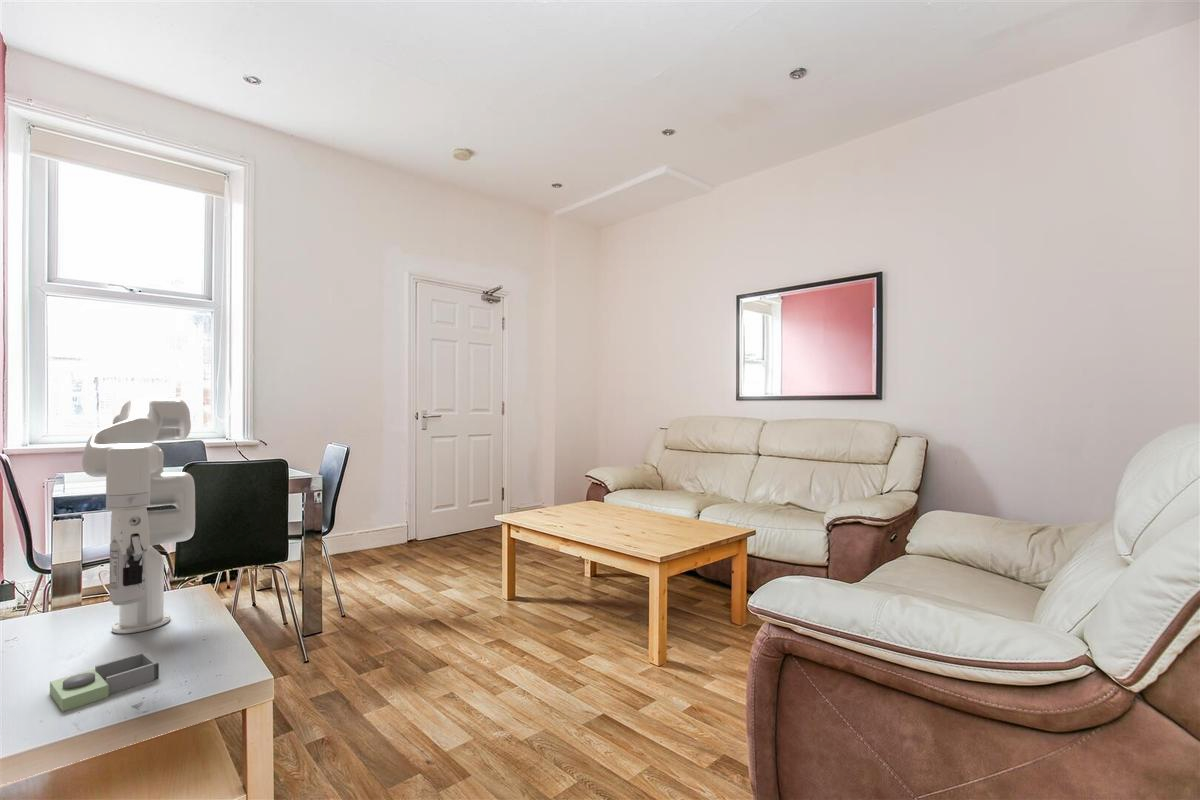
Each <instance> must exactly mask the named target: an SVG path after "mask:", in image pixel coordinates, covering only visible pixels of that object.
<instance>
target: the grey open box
mask: <svg viewBox="0 0 1200 800" xmlns="http://www.w3.org/2000/svg"><path fill="white" fill-rule="evenodd" d="M159 663H160V662H158V661H157V660H156V659H155V658H154V657H153V656H152V655H150V654H149V653H148V652H147V651H143V652H139V653H136V654H132V655H129V656H125V657H122V658H119V659H116V660H115V659H114V660H112V661H107V662H104V663H101V664H100V663H99V664H97V665H95V667H94V668H93V669H92V668H91V669H90V670H85V671H83V672H79V673H75V674H72V675H69V676H65V677H62V678H58V679H55V680H51V681H49V694H50V696H51V697H52V699H53V700H54V701H55V703H56V705H57V706H58V707H59V709H60V710H61V712H62V713H63V712H66V711H70V710H73V709H76V708H79V707H81V706H84V705H88V704H91V703H94V702H98V701H100V700H103V699H107V698H109V695H111V694H115V693H118V692H121V691H124V690H127V689H130V688H132V687H136V686H137V687H138V686H139V685H143V684H145V683H149V682H151V681H155V680H157V679H159V677H160V674H159V673H160V672H159V671H160V669H159V668H160V667H159V666H160V664H159Z"/></svg>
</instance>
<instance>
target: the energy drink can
mask: <svg viewBox="0 0 1200 800" xmlns="http://www.w3.org/2000/svg"><path fill="white" fill-rule="evenodd" d="M140 545H141V544H140ZM141 548H142V546H141ZM127 551H128V552H127V553H130V552H133V550H132V549H131V550H127ZM132 556H133V555H132ZM141 556H142V582H141V583H139V584H134V585H130V586H123V568H125V563H124V555H122V554H120V553H119V549H118V544H117V542H116V540H115V537H114V539H113V540H112V542H111V541H110V543H109V602H112V605H114V606H119V605H127V604H132V603H135V602H138V601H140V600H142V597H143V596H144V595H145V551H143V549H142V555H141ZM130 557H131V556H129V558H130Z"/></svg>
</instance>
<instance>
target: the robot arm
mask: <svg viewBox="0 0 1200 800" xmlns="http://www.w3.org/2000/svg"><path fill="white" fill-rule="evenodd" d="M190 413H191V412H190V409H189V407H188V405H187V403H186V402H185V401H184V400H182V399H180V398H175V397H174V398H172V397H171V398H169V397H168V398H167V397H166V398H165V397H159V398H158V397H143V398H142V397H140V398H139V397H138V398H133V399H131V400H128V401H127V402H125V403H124V405H122V407H121V409H120V412H119V414H117V415H115V416H114V418H113V420H112V424H111V425H109V426H106V427H104V428H102V429H100V430H98V431H96V432H95V433H93V434H91V436H90V437H89V438H88V440H87V442H86V443H85V444H86V445H85V448H84V450H83V454H82V459H81V465H82V469H83V471H84V473H85V474H86V475H88V477H89V476H90V477H93V478H105V479H106V480H105V483H106V485H105V511H111V515H110V518H111V519H110V543H111V542H112V540H113V539H114V537H115V540H116V542H117V544H118V549H119V553H120V554H122V555H124V563H125V568H123V586H130V585H134V584H139V583H141V582H142V556H141V555H142V549H143V551H145V595H144V596H143V597H142V600H140V601H138V602H135V603H132V604H127V605H118V607H119V611H118V612H119V617H118V618H119V620H118V621H117V622H115V623H114V624H112V626H111V631H112V633H115V634H133V633H140V632H144V631H149V630H152V629H156V628H158V627H161V626H163V625H165V624H167V623H168V622H170V620H171V614H169V613H167V612H164V611H165V610H164V608H165V607H164V602H165V601H164V599H165V598H164V596H165V595H164V591H165V585H164V584H165V581H164V580H165V579H164V578H165V561H164V557H163V555H162V554H161V553H160V552H159V551H158V550H157V549H156V548H155V547H153V546H157V545H164V544H171V543H181V542H186V541H188V540H190V539H192V537H193V536H194V534H195V530H196V489H195V488H196V485H195V480H194V477H193V475H191V474H190V473H188V472H186V471H169V472H168V471H167V472H164V461H165V456H164V454H165V453H164V451H163V450H162V449H161V447H160V446H159V445H157V444H155V441H161V442H162V441H164V442H165V441H182V440H185V439H186V438H188V436H189V434H190V433H191V429H192V428H191V427H192V423H191V414H190ZM162 506H163V507H164V506H174V507H175V508H172V509H171V508H170V509H160V510H159V509H158V510H148V508H151V507H162ZM140 544H141V545H140ZM141 546H142V548H141ZM131 549H132V550H133V552H130V553H127V552H128V551H127V550H131ZM132 555H133V556H132ZM129 556H131V557H130V558H129Z"/></svg>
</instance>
